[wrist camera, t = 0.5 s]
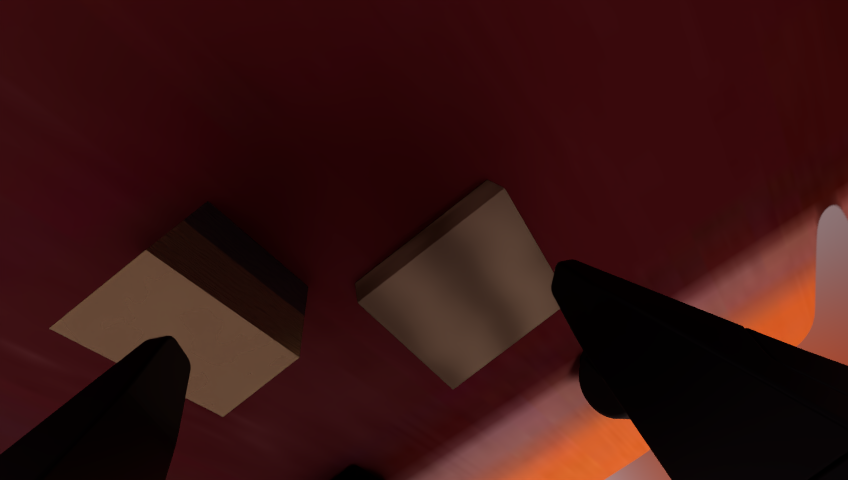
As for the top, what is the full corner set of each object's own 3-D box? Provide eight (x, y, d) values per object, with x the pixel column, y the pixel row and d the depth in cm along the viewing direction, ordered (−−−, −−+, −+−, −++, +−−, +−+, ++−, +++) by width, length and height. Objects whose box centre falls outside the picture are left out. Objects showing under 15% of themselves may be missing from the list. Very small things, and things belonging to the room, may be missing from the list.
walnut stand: (443, 367, 28) (452, 389, 26) (355, 283, 23) (357, 302, 21) (550, 285, 28) (569, 301, 26) (487, 179, 22) (504, 188, 20)
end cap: (563, 375, 34) (614, 435, 28) (596, 320, 32) (659, 372, 26) (627, 381, 37) (684, 435, 31) (660, 332, 35) (728, 380, 29)
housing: (253, 329, 22) (223, 416, 16) (143, 253, 19) (49, 328, 12) (308, 286, 22) (299, 357, 16) (208, 200, 18) (145, 250, 12)
